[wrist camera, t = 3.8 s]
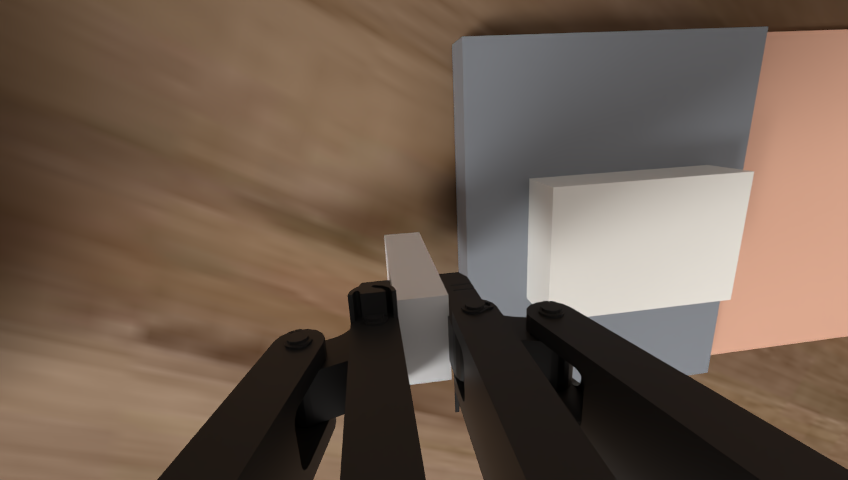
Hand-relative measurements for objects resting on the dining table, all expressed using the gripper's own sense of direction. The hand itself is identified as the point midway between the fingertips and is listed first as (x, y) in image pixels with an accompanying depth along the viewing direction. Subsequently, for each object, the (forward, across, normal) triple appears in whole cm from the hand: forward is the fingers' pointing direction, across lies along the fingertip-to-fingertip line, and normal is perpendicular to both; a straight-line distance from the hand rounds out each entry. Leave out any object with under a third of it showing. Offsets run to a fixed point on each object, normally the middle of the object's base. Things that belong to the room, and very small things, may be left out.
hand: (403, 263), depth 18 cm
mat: (+3, +24, 0) cm, 24 cm away
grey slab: (+3, +10, 0) cm, 11 cm away
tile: (+1, +11, 0) cm, 11 cm away
